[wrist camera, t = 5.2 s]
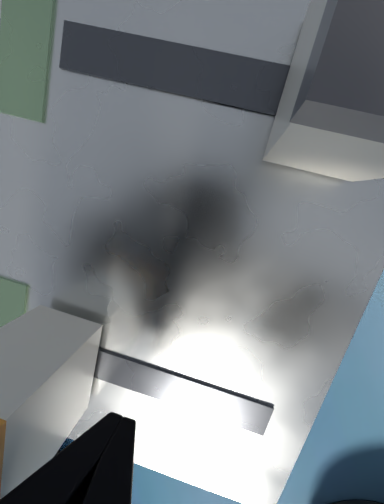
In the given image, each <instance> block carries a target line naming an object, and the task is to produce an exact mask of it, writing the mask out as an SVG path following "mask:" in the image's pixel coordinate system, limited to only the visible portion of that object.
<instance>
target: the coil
mask: <svg viewBox="0 0 384 504" xmlns="http://www.w3.org/2000/svg"><path fill="white" fill-rule="evenodd" d="M333 504H382V503H378V502H373V501H365V500H350V501H342V502H336V503H333Z"/></svg>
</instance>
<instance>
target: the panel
mask: <svg viewBox="0 0 384 504" xmlns="http://www.w3.org/2000/svg"><path fill="white" fill-rule="evenodd" d="M310 1H311V0H0V327H2V326H4V325H5V324H7V323H9V322H11V321H13V320H14V319H16V318H18V317H20V316H21V315H23V314H25V313H27V312H28V311H30V310H32V309H34V308H36V307H37V306H39V305H43V306H46V307H49V308H52V309H55V310H58V311H61V312H64V313H67V314H70V315H74V316H77V317H80V318H83V319H86V320H89V321H92V322H95V323H98V324H101V325H103V326H102V332H101V337H100V343H99V349H98V354H97V360H96V365H95V371H94V376H93V382H92V387H91V393H90V399H89V404H88V408H87V409H86V411H85V412H84V414H83V415H82V417H81V418H80V419H79V421H78V422H77V424H76V425H75V427H74V428H73V430H72V431H71V432H70V434H69V435H68V437H67V438H70V439H72V440H75V439H77V438H78V437H79V436H80V435H82V434H83V433H84V432H85V431H87V430H88V429H89V428H91V427H92V426H93V425H94V424H96V423H97V422H98V421H99V420H101V419H102V418H103V417H104V416H106V415H107V414H108V413H110V412H114V413H117V414H120V415H122V416H123V417H124V416H125V417H128V418H131V419H134V420H135V421H136V433H135V449H134V463H136V464H139V465H142V466H144V467H147V468H150V469H152V470H155V471H158V472H160V473H163V474H166V475H168V476H171V477H174V478H176V479H179V480H182V481H184V482H187V483H190V484H192V485H195V486H198V487H200V488H203V489H206V490H208V491H211V492H214V493H216V494H219V495H222V496H224V497H227V498H229V499H232V500H235V501H237V502H240V503H243V504H277V502H278V499H279V497H280V495H281V493H282V491H283V488H284V486H285V484H286V482H287V480H288V477H289V475H290V473H291V471H292V469H293V467H294V464H295V462H296V460H297V458H298V456H299V453H300V451H301V449H302V447H303V445H304V442H305V440H306V438H307V436H308V434H309V431H310V429H311V427H312V425H313V423H314V420H315V418H316V416H317V414H318V412H319V409H320V407H321V405H322V403H323V401H324V399H325V396H326V394H327V392H328V390H329V388H330V385H331V383H332V381H333V379H334V377H335V374H336V372H337V370H338V368H339V366H340V363H341V361H342V359H343V357H344V355H345V352H346V350H347V348H348V346H349V344H350V341H351V339H352V337H353V335H354V333H355V331H356V328H357V326H358V324H359V322H360V320H361V317H362V315H363V313H364V311H365V309H366V306H367V304H368V302H369V300H370V298H371V295H372V293H373V291H374V289H375V287H376V284H377V282H378V280H379V278H380V276H381V274H382V271H383V269H384V178H381V179H372V180H363V181H354V182H351V181H347V180H343V179H339V178H334V177H330V176H326V175H322V174H318V173H314V172H309V171H305V170H301V169H297V168H293V167H289V166H284V165H280V164H276V163H272V162H268V161H264V160H262V159H263V156H264V153H265V149H266V146H267V143H268V139H269V136H270V133H271V129H272V126H273V123H274V119H275V116H276V113H277V109H278V106H279V103H280V99H281V96H282V93H283V89H284V86H285V83H286V79H287V76H288V73H289V69H290V66H291V63H292V59H293V56H294V53H295V49H296V46H297V42H298V39H299V36H300V32H301V29H302V26H303V22H304V19H305V16H306V12H307V9H308V6H309V3H310Z"/></svg>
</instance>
